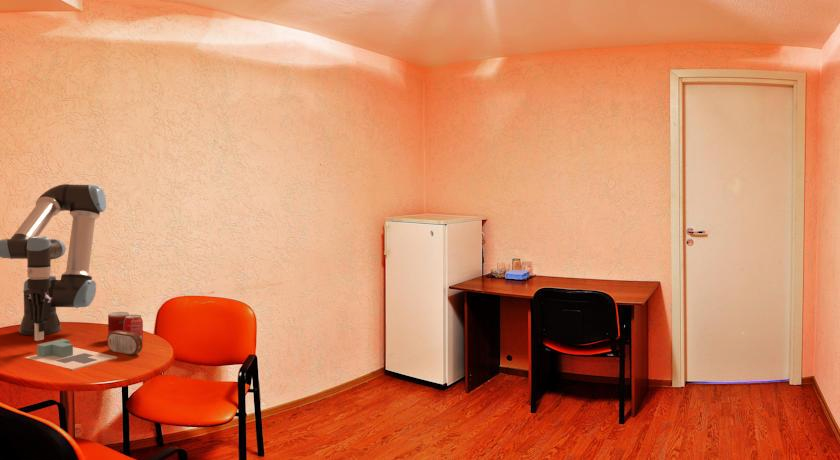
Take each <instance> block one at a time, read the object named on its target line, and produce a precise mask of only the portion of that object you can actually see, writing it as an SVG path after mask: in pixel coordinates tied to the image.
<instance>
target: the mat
mask: <svg viewBox="0 0 840 460" xmlns="http://www.w3.org/2000/svg"><path fill="white" fill-rule="evenodd" d="M24 359H29V360H33V361H36V362H41V363H44V364H48V365H49V364H50V365H53V366H57V367H61V368H64V369H68V370H70V371H75V370H79V369H83V368H86V367H89V366H94V365H97V364H100V363H103V362H109V361H112V360H115V359H118V356H116V355H111V354H106V353H102V352H97V351H92V350H89V349H83V348H80V347H79V348H78V347H75V346H73V355H71V356H67V357H63V358H62V357H58V356H53V355H51V356H47V357H42V356H37V354H34V355H29V356H25V357H24Z"/></svg>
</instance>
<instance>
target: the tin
mask: <svg viewBox="0 0 840 460" xmlns="http://www.w3.org/2000/svg"><path fill="white" fill-rule="evenodd" d="M106 341H107V347H108V349H109V350H110V351H111V352H115V353H121V354H125V355H127V356H134V355H136V354H137V355H138V354H139V353H141V352H142V349H143V342H142V340H141V338H140V337H139V336H138V335H137V334H136V333H132V332H125V331H120V330H117V331H115V332H112V333H110V334H109V335H108V334H107V339H106Z"/></svg>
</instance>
